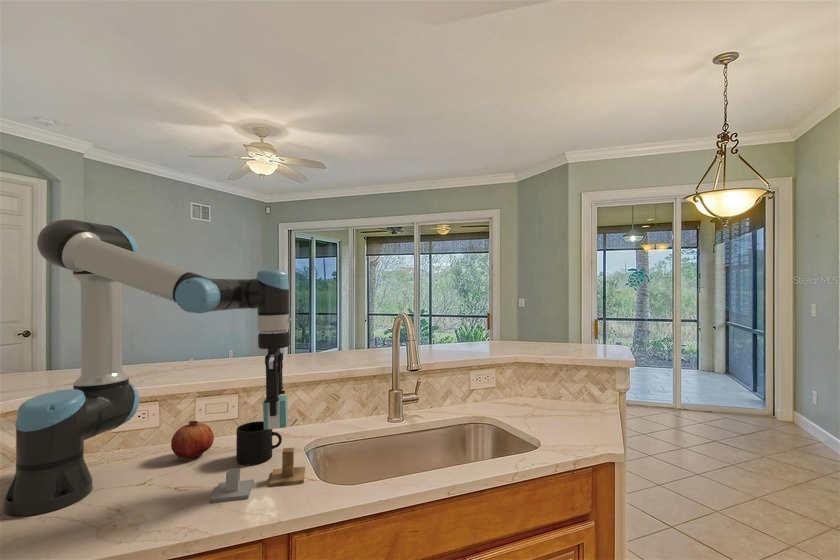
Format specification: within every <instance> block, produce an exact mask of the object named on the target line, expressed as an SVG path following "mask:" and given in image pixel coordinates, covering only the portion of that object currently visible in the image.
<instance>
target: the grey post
mask: <svg viewBox="0 0 840 560" xmlns="http://www.w3.org/2000/svg"><path fill="white" fill-rule="evenodd" d="M254 484H255V479H245V480H244V479H243V480H241V468H240V467H237V468H228V469H227V471H226V473H225V481H224V482H218V483H217V486H216V487H215V489H214V491H213V493H212V495H211V497H210V498H209V500H210V501H209V502H210V504H211V503H219V502H220V503H221V502H227V501H228V502H230V501H238V500H248V499H249V497H250V495H251V492H252V489H253V486H254Z"/></svg>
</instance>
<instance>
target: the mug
mask: <svg viewBox="0 0 840 560" xmlns="http://www.w3.org/2000/svg"><path fill="white" fill-rule="evenodd" d="M274 436H276V437H277V439H278V442H277V443H276V444H273V437H274ZM282 440H283V437H282V435H281V434H280V433H279V432H277V431H273V429H266V430H264V420H263V421H262V420H261V421H251V422H247V423H242V424H240V425H239V426H237V427H236V441H235V442H236V454H235V455H236V457H235V459H236V460H235V461H236V463H237V464H239V465H240V466H241V465H242V466H243V465H244V466H255V465H259V464H264V463H266V462H268V461H270V460H271V459H272V457H273V450H274V449H277V448H279V446H281V444H282Z"/></svg>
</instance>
